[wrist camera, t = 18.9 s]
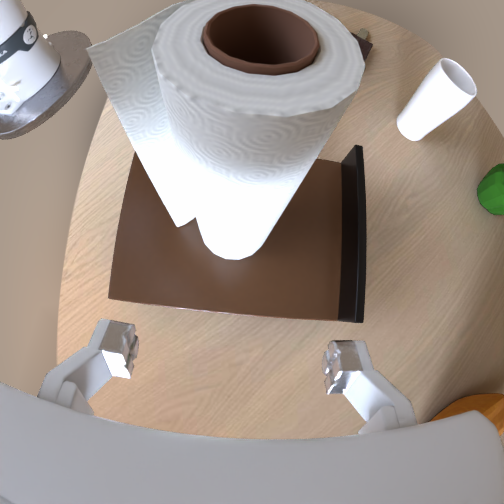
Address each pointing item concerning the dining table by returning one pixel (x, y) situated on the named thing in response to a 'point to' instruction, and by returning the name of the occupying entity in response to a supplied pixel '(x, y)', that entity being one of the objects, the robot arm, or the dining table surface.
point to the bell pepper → (493, 190)
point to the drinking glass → (436, 99)
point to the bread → (478, 408)
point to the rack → (261, 262)
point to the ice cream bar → (363, 42)
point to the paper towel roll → (230, 107)
